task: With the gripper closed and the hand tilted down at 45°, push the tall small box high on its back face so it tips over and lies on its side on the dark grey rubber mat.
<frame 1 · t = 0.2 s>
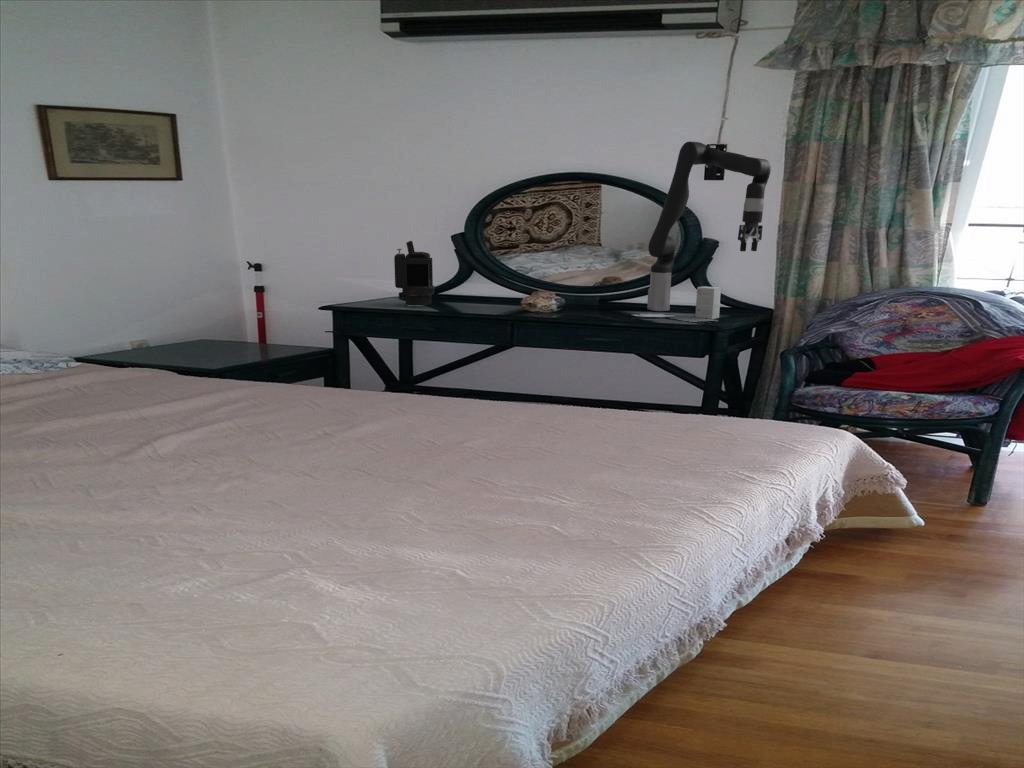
hand: (748, 251, 302), 29 cm above the table, tool pointing down, fingers open, 8 cm apart
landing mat: (691, 319, 311), on the table
black boxy device: (415, 305, 352), on the table
small box: (707, 318, 317), on the table
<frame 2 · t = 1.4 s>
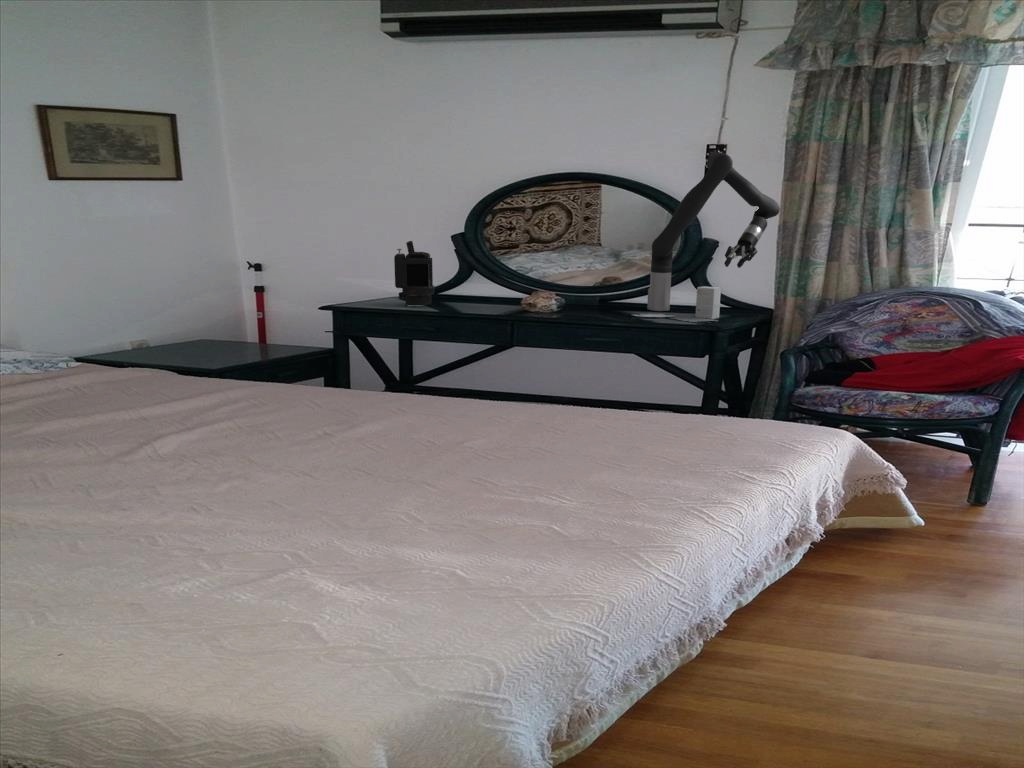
hand: (732, 265, 322), 21 cm above the table, tool tilted 45°, fingers open, 5 cm apart
nothing on the table moved.
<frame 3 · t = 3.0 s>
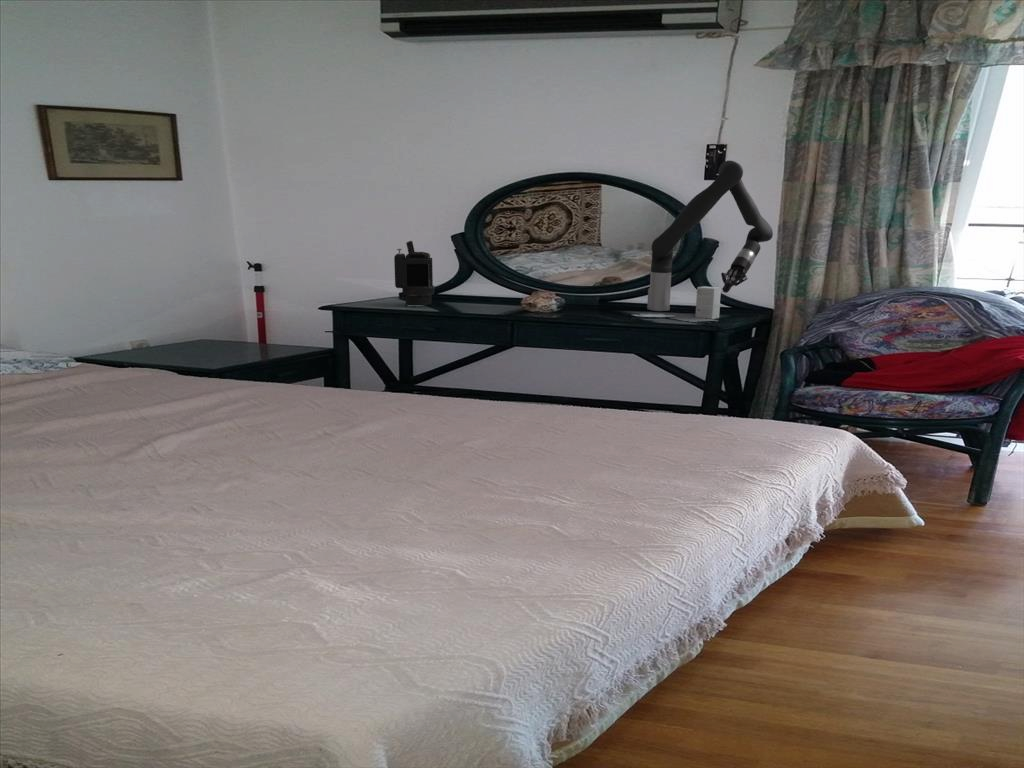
hand: (724, 291, 321), 11 cm above the table, tool tilted 45°, fingers closed
nothing on the table moved.
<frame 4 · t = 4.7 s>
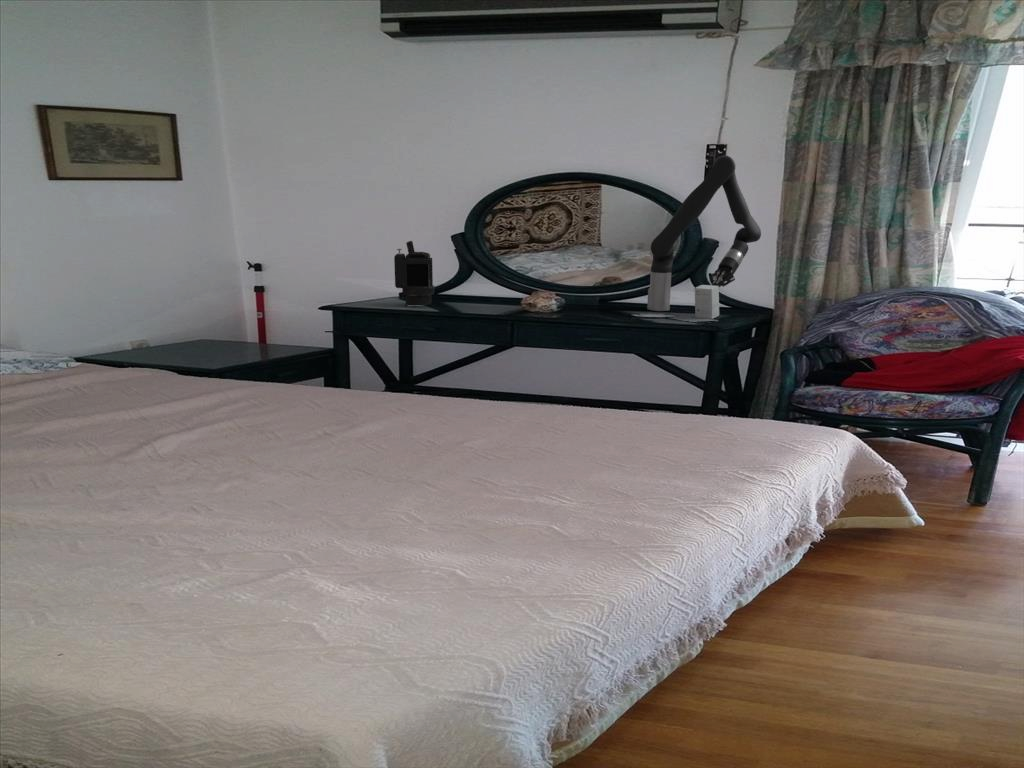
hand: (711, 291, 316), 11 cm above the table, tool tilted 45°, fingers closed
small box: (707, 317, 317), on the table, touching gripper
everything else where it was.
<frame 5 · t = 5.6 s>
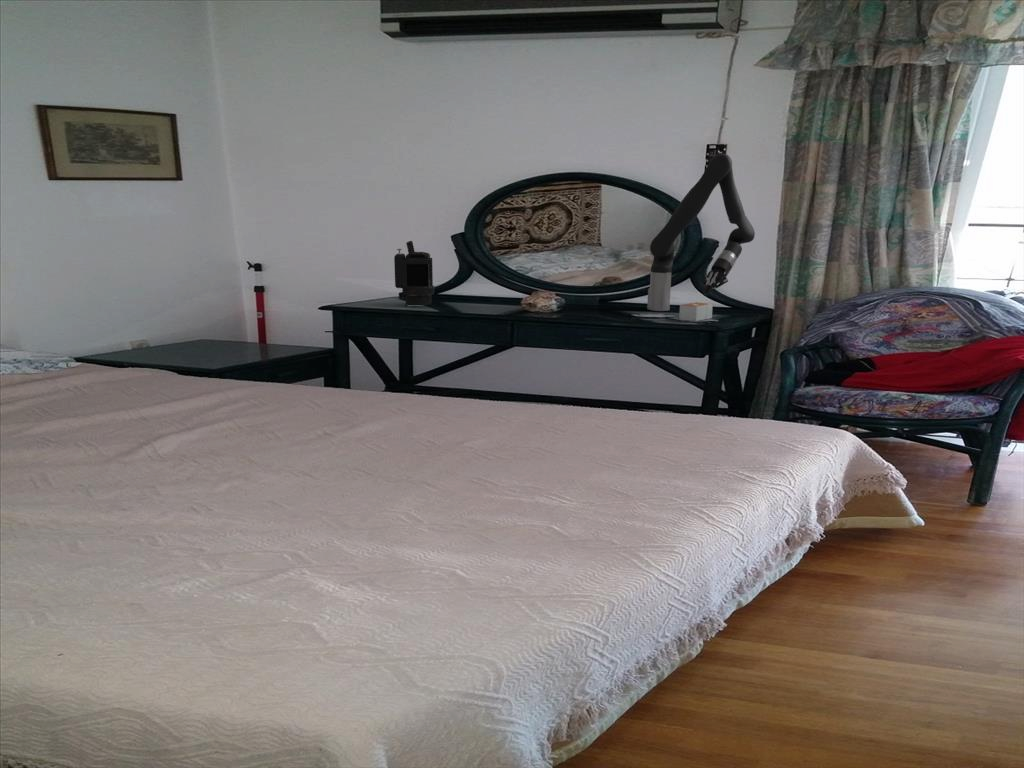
hand: (704, 293, 313), 10 cm above the table, tool tilted 45°, fingers closed
small box: (704, 310, 314), point 4 cm above the table, touching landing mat
everything else where it was.
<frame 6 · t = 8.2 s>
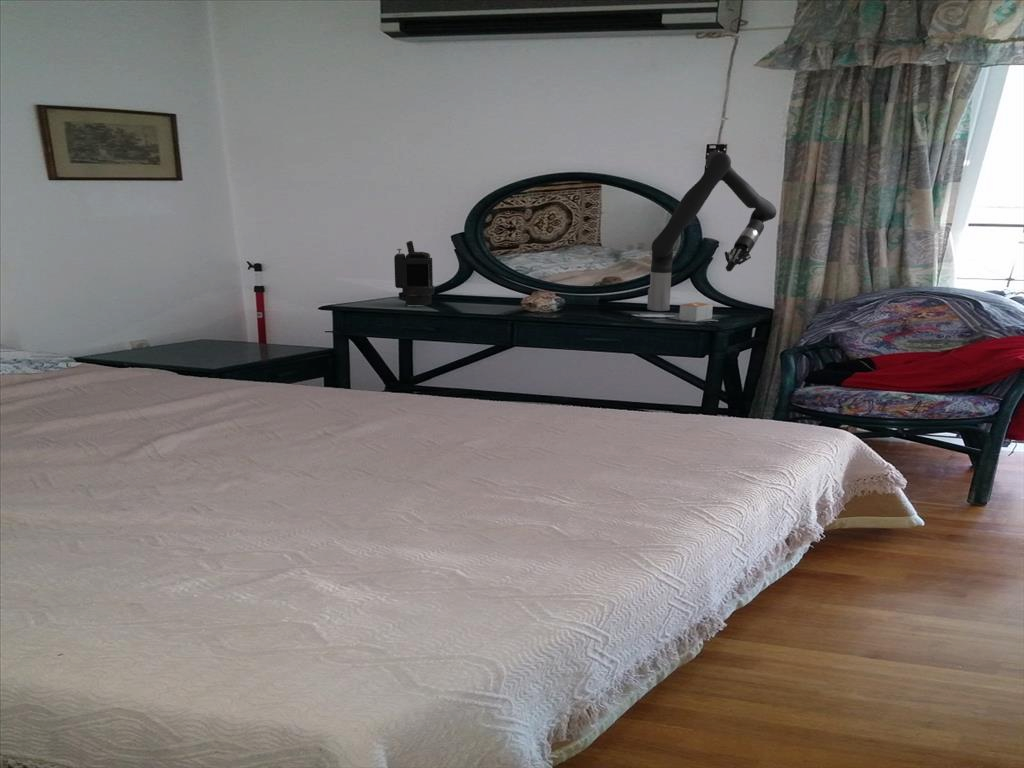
hand: (727, 270, 320), 20 cm above the table, tool tilted 45°, fingers closed
nothing on the table moved.
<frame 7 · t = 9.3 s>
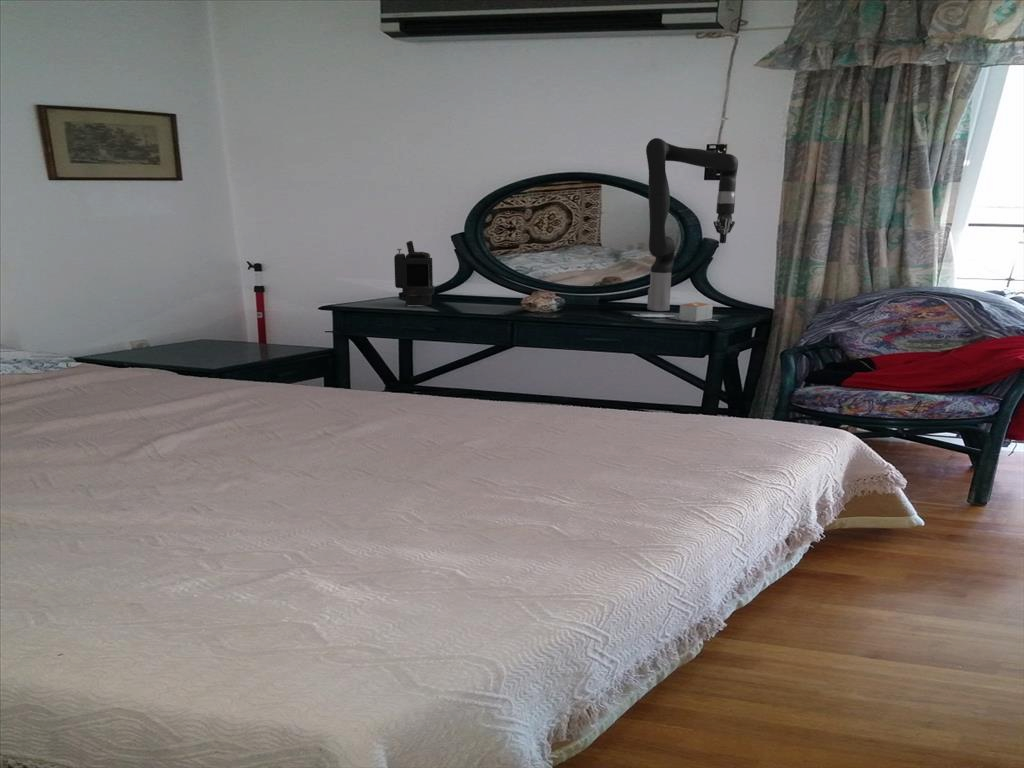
hand: (722, 243, 326), 31 cm above the table, tool pointing down, fingers closed
nothing on the table moved.
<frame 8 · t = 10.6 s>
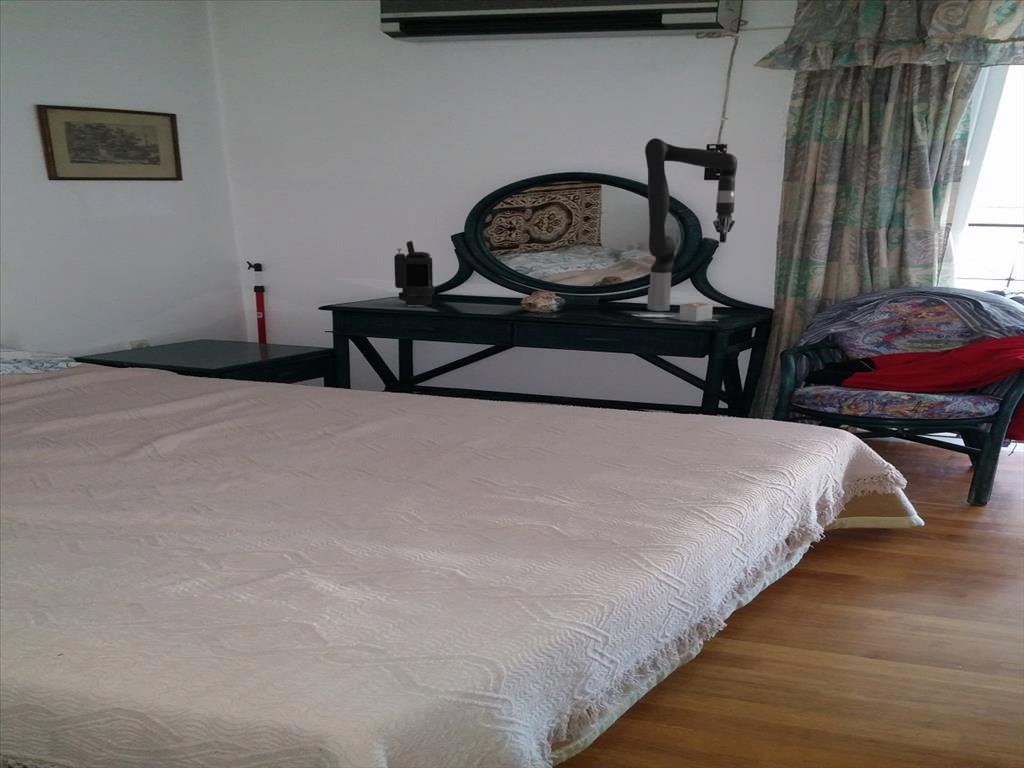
hand: (722, 242, 326), 31 cm above the table, tool pointing down, fingers closed
nothing on the table moved.
at the end: small box tilted 90°; small box inside the target area (2.6 cm from its centre), point 3.5 cm above the table; small box touching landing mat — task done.
